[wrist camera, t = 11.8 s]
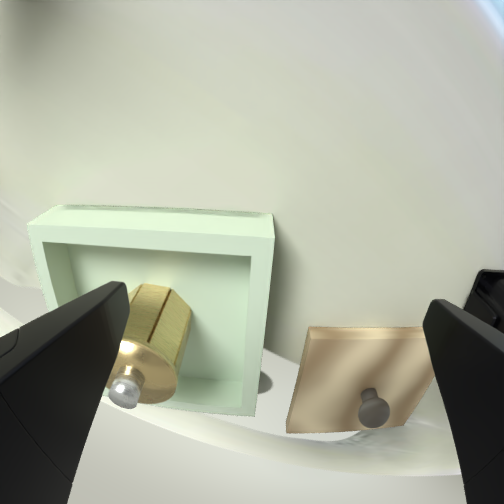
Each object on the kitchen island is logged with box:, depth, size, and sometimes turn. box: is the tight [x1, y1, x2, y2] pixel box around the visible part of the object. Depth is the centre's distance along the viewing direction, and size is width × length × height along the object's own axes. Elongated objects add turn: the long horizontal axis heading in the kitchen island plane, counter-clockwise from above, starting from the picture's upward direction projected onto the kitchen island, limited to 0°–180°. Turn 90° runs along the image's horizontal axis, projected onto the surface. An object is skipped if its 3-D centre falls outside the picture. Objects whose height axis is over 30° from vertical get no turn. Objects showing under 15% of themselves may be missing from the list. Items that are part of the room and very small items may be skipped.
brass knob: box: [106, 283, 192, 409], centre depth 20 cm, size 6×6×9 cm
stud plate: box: [286, 327, 435, 433], centre depth 26 cm, size 14×14×6 cm
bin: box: [27, 205, 275, 416], centre depth 23 cm, size 16×16×4 cm
